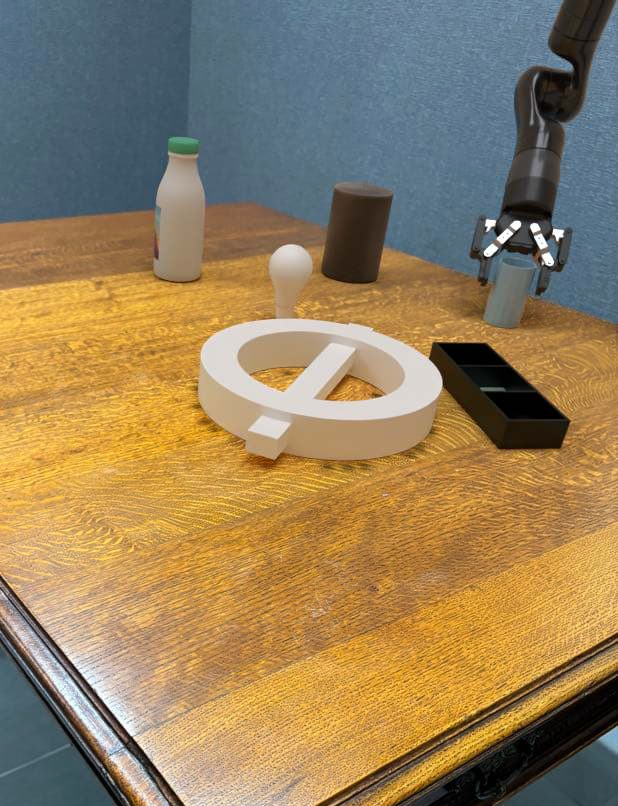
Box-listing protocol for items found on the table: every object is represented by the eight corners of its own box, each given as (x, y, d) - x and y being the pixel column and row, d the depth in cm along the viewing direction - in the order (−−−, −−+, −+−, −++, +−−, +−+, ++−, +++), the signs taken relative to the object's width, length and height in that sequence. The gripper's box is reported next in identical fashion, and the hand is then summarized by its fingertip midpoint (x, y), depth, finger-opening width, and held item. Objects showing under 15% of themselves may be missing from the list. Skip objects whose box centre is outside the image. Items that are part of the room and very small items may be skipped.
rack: (479, 367, 110) (486, 342, 107) (560, 448, 92) (571, 420, 90) (426, 366, 108) (432, 341, 106) (498, 449, 91) (508, 421, 89)
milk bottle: (209, 275, 132) (220, 140, 120) (183, 286, 127) (191, 146, 115) (171, 264, 135) (177, 132, 124) (143, 275, 130) (147, 137, 118)
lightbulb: (292, 334, 114) (303, 254, 108) (254, 323, 116) (263, 244, 110) (311, 322, 118) (323, 245, 112) (274, 311, 121) (284, 235, 114)
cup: (508, 315, 128) (526, 257, 122) (524, 328, 123) (543, 269, 118) (477, 314, 127) (493, 256, 121) (492, 327, 122) (509, 268, 117)
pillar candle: (350, 286, 133) (367, 189, 124) (309, 269, 139) (322, 175, 130) (389, 278, 138) (408, 184, 129) (348, 261, 144) (363, 171, 135)
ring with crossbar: (360, 346, 112) (367, 313, 109) (480, 444, 91) (492, 406, 88) (167, 361, 103) (169, 325, 100) (251, 474, 82) (256, 432, 79)
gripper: (487, 167, 121) (467, 268, 118) (588, 181, 118) (568, 284, 116) (478, 197, 128) (458, 293, 125) (572, 211, 126) (553, 308, 123)
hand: (511, 288), depth 121 cm, fingers open, 7 cm apart
